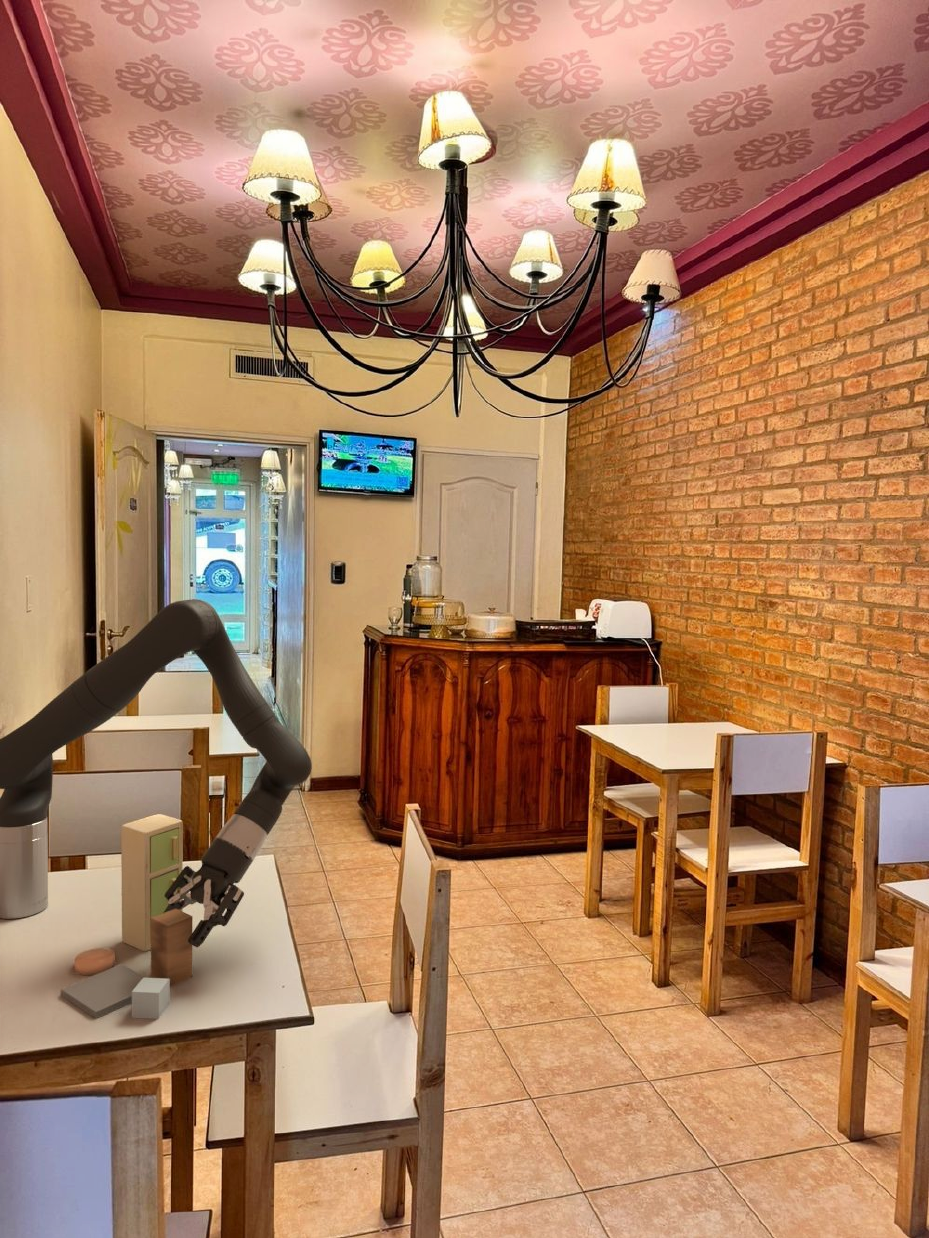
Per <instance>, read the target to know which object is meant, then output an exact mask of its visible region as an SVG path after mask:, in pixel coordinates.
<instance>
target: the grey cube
mask: <svg viewBox="0 0 929 1238" xmlns="http://www.w3.org/2000/svg"><path fill="white" fill-rule="evenodd" d="M170 989H171V988H170V979H166V978H151V977H146V978H143V979H142V980H141V981H140V982H139V983H138V985H137V986H136V987H135V988H134V990H133V991H132V1002H131V1018H132V1019H133V1018H134V1019H138V1018H139V1019H160V1018H161V1017H162V1016H163V1013H164V1012H165V1010H167V1008H168V1007H169V1005H170V1002H171V1001H170V997H171V995H170Z"/></svg>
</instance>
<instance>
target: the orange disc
mask: <svg viewBox="0 0 929 1238" xmlns="http://www.w3.org/2000/svg"><path fill="white" fill-rule="evenodd" d="M73 960H74V961H73V962H74V964H73V966H74V968H73V971H74V972H75V973H76V974H78V975H81V976H94V975H96V974H99V973H101V972H103V971H106V970H108V969H111V968H113V967H114V965H115V952H114V950H112V949H109V948H106V947H105V948H104V947H102V948H99V947H98V948H93V949H88V950H85V951H83V952H81V953H79V954H77V955H76V956H75V957H74V959H73Z"/></svg>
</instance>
